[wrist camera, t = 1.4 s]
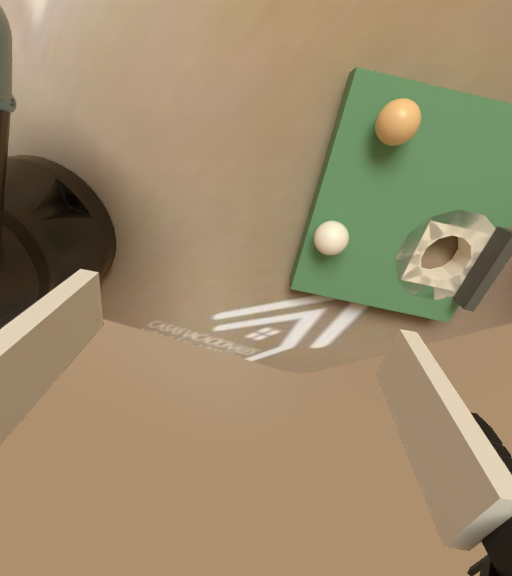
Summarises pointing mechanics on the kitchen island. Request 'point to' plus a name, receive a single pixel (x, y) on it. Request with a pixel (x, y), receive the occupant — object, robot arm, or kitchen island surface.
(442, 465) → the robot arm
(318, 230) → the ball
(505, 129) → the putting mat
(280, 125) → the kitchen island surface
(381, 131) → the brown egg
